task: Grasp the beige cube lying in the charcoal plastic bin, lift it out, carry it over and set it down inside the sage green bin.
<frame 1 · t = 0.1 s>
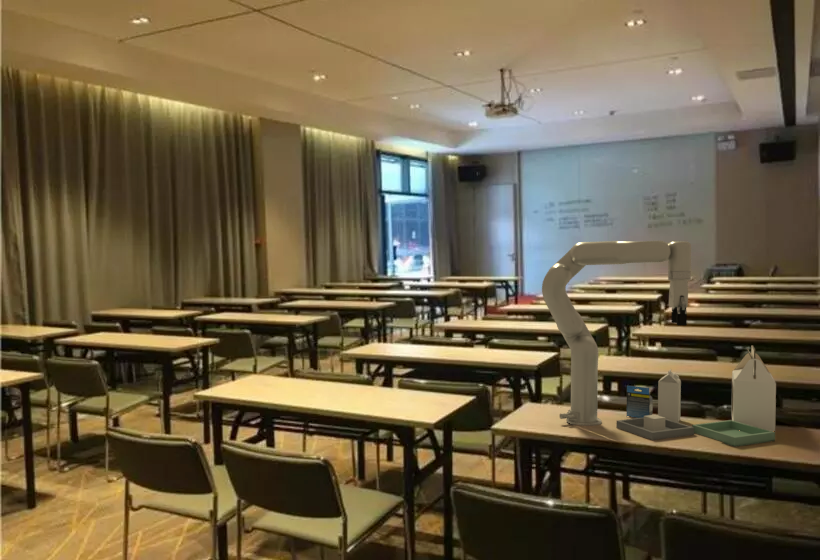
hand: (678, 324, 241), 37 cm above the table, tool pointing down, fingers open, 9 cm apart
label tape cartridge: (639, 418, 256), on the table
gable box: (752, 424, 248), on the table
sage green bin: (732, 437, 229), on the table
milk carton: (669, 421, 252), on the table
charcoal bin: (654, 432, 235), on the table
beige cube: (654, 431, 235), resting on charcoal bin
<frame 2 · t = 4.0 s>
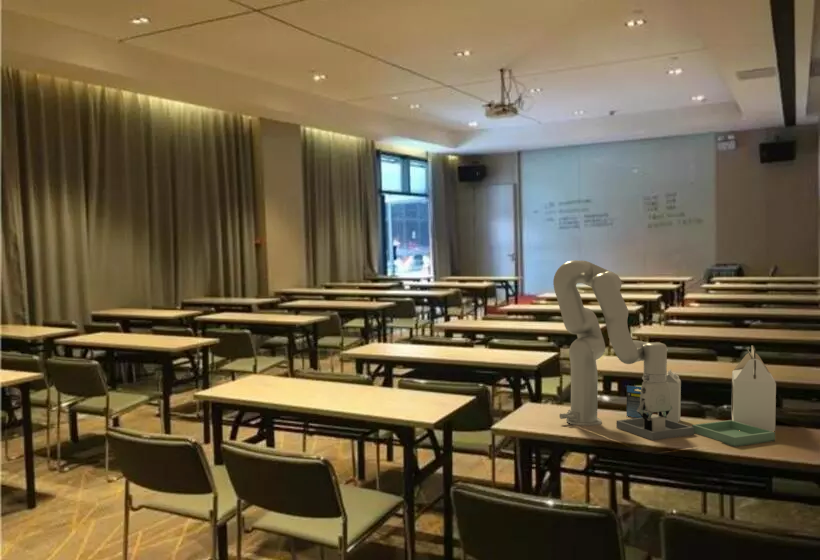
hand: (654, 429, 235), 1 cm above the table, tool pointing down, fingers closed on beige cube, 5 cm apart
beige cube: (654, 431, 235), resting on charcoal bin, touching gripper
everything else where it was.
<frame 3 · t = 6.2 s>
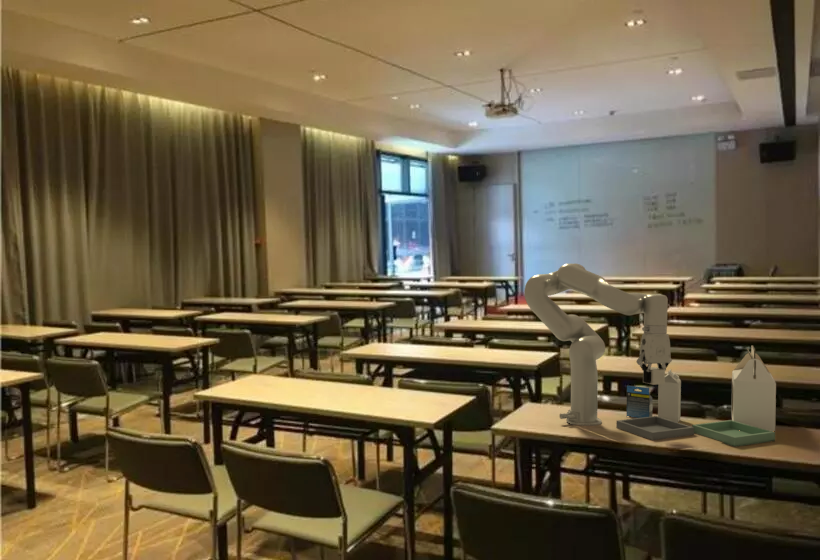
hand: (653, 381, 235), 18 cm above the table, tool pointing down, fingers closed on beige cube, 5 cm apart
beige cube: (653, 382, 235), point 17 cm above the table, touching gripper
everything else where it was.
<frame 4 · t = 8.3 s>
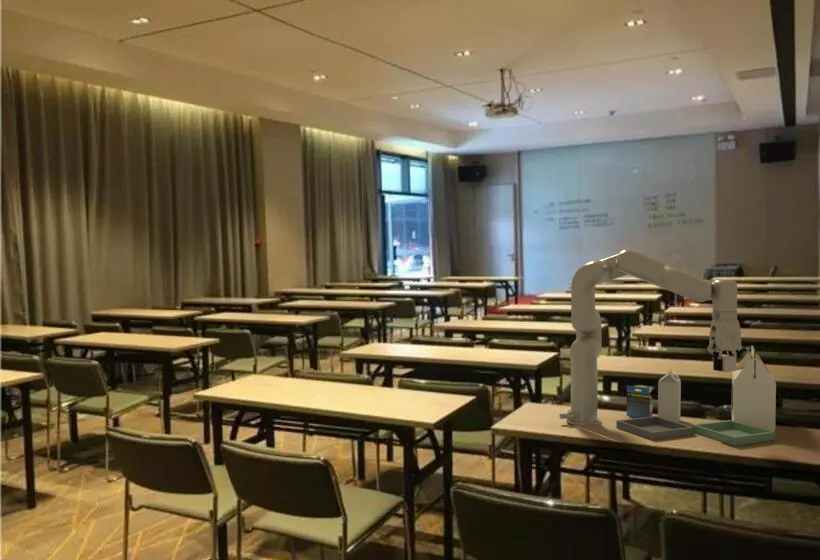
hand: (724, 369, 229), 23 cm above the table, tool pointing down, fingers closed on beige cube, 5 cm apart
beige cube: (724, 370, 229), point 23 cm above the table, touching gripper
everything else where it was.
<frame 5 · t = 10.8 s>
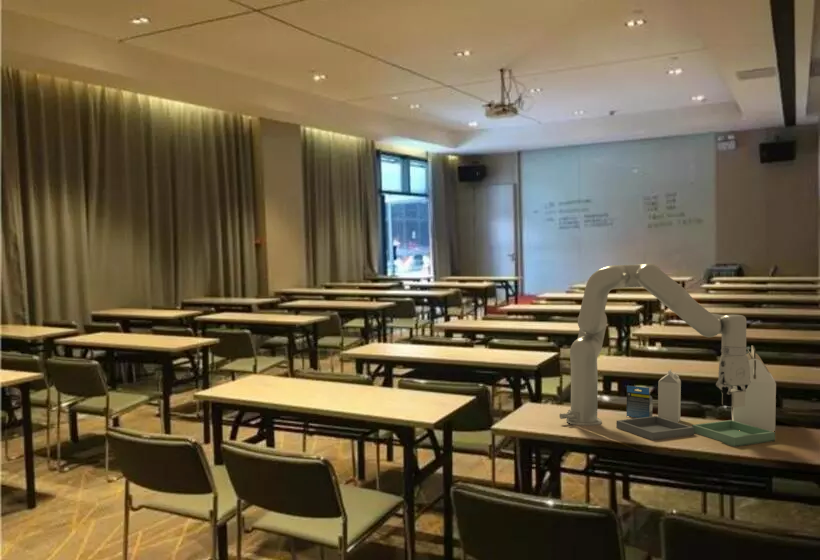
hand: (733, 404, 228), 11 cm above the table, tool pointing down, fingers closed on beige cube, 5 cm apart
beige cube: (733, 405, 228), point 11 cm above the table, touching gripper
everything else where it was.
when the fingers open (2 cm above the table, at t = 12.9 s): beige cube drops 1 cm, resting on sage green bin.
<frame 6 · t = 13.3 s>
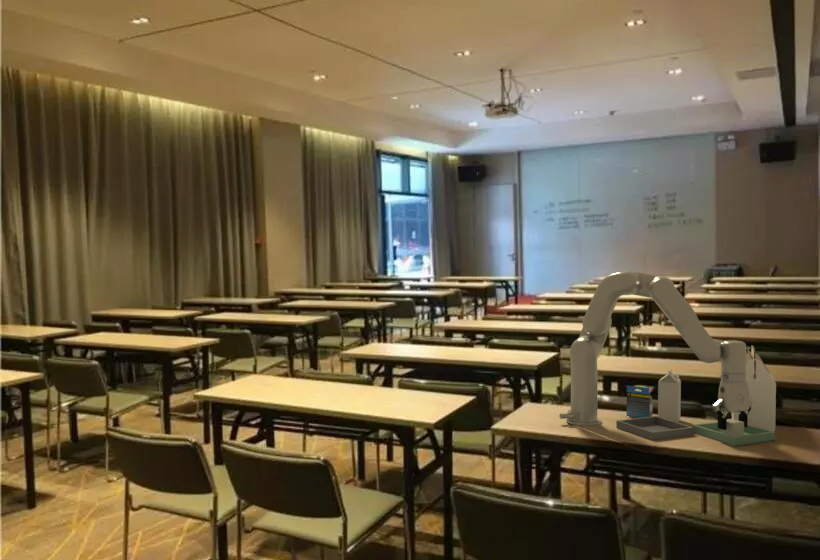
hand: (732, 427, 229), 3 cm above the table, tool pointing down, fingers open, 9 cm apart
beige cube: (732, 435, 229), resting on sage green bin
everything else where it was.
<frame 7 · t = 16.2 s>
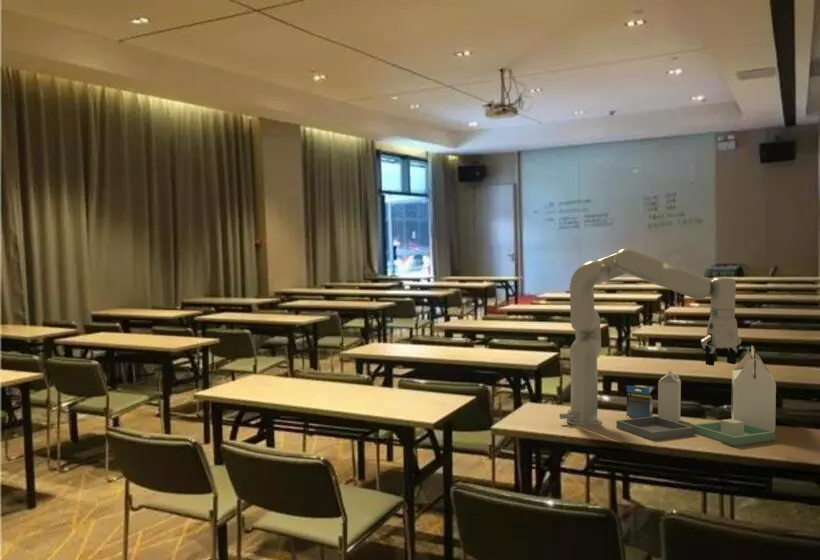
hand: (720, 364, 230), 25 cm above the table, tool pointing down, fingers open, 9 cm apart
nothing on the table moved.
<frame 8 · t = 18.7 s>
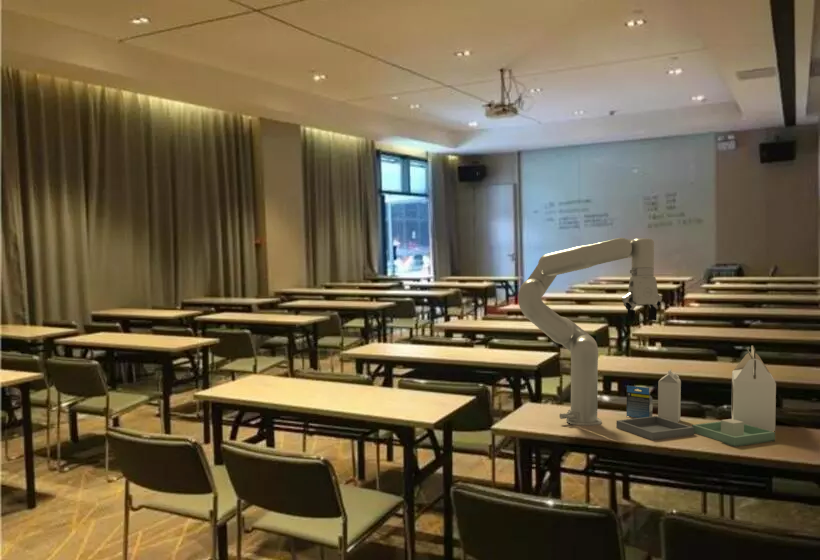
hand: (642, 320, 243), 38 cm above the table, tool pointing down, fingers open, 9 cm apart
nothing on the table moved.
at the end: beige cube inside the target area on the sage green bin (0.1 cm from its centre), point 0.5 cm above the sage green bin's base; beige cube moved 24.9 cm from its start; the gripper is holding nothing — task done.
